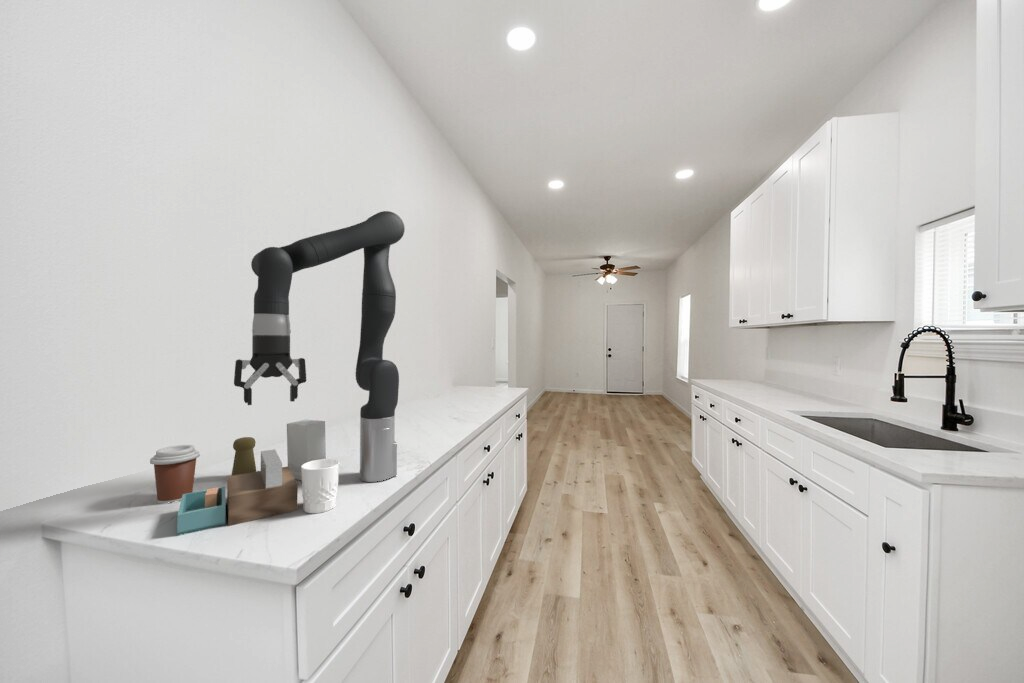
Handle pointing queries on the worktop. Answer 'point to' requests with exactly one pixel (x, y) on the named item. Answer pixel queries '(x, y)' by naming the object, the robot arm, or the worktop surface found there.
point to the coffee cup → (174, 472)
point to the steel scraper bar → (271, 469)
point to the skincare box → (305, 444)
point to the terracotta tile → (212, 497)
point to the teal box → (200, 512)
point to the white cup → (320, 485)
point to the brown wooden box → (259, 497)
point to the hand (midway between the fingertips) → (271, 402)
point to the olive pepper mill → (244, 456)
